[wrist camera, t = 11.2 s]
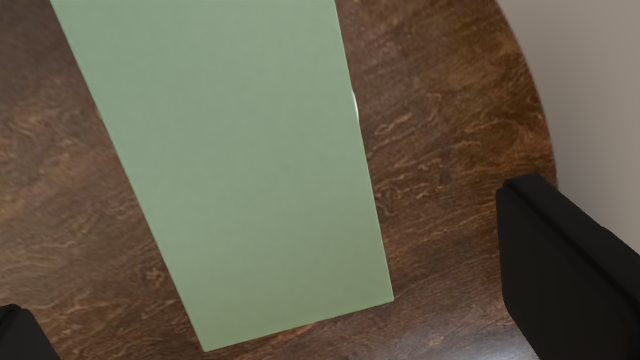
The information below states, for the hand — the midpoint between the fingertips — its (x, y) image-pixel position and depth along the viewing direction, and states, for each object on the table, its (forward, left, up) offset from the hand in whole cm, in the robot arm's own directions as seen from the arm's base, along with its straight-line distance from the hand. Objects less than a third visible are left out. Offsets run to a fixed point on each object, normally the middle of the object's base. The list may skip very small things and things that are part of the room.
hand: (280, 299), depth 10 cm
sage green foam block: (0, -1, -9) cm, 9 cm away
